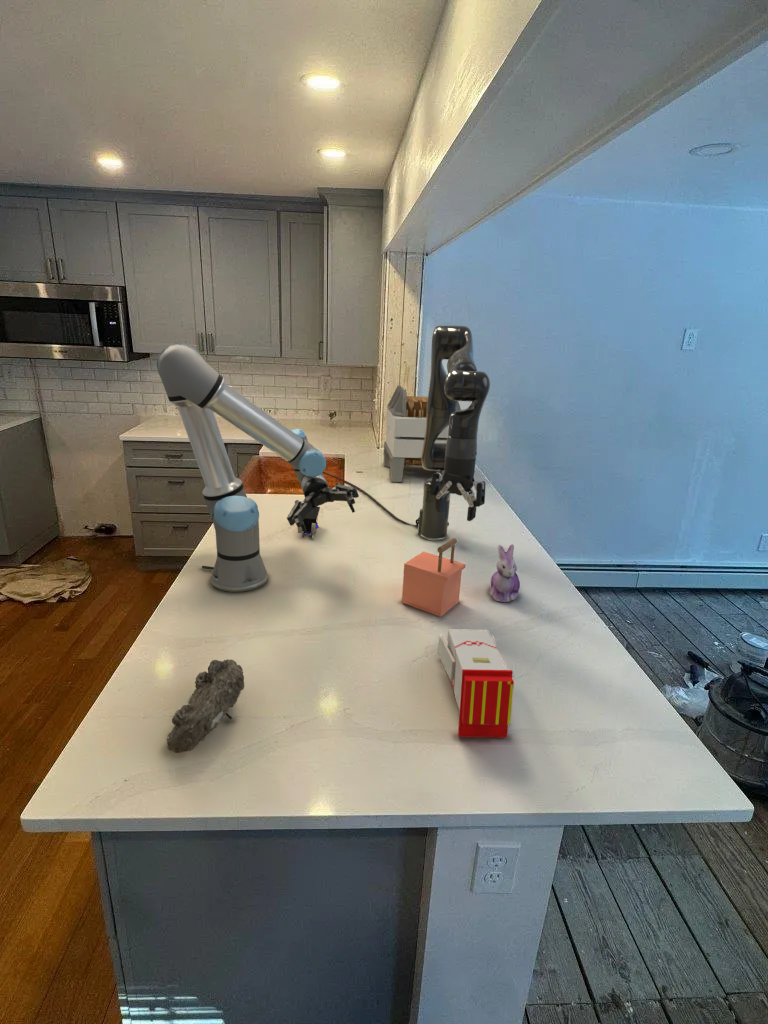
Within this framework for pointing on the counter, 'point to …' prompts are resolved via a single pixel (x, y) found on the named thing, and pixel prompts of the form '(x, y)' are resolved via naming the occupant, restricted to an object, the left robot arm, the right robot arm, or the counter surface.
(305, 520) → the figurine character
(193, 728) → the fossil
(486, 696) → the toy
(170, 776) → the counter surface
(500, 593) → the figurine
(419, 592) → the chest
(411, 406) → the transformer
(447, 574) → the lid
